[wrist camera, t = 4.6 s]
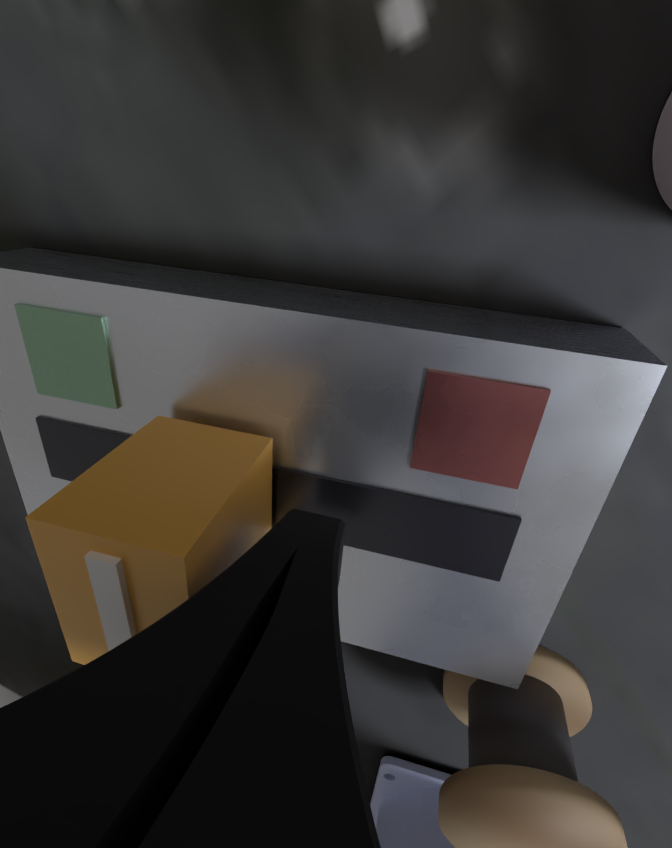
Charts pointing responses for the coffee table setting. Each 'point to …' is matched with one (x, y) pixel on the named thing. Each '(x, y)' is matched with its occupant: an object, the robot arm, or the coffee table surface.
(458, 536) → the panel
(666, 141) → the smoothie
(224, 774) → the robot arm
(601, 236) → the coffee table surface
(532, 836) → the reel
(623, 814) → the coffee table surface
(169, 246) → the coffee table surface
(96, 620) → the toggle
